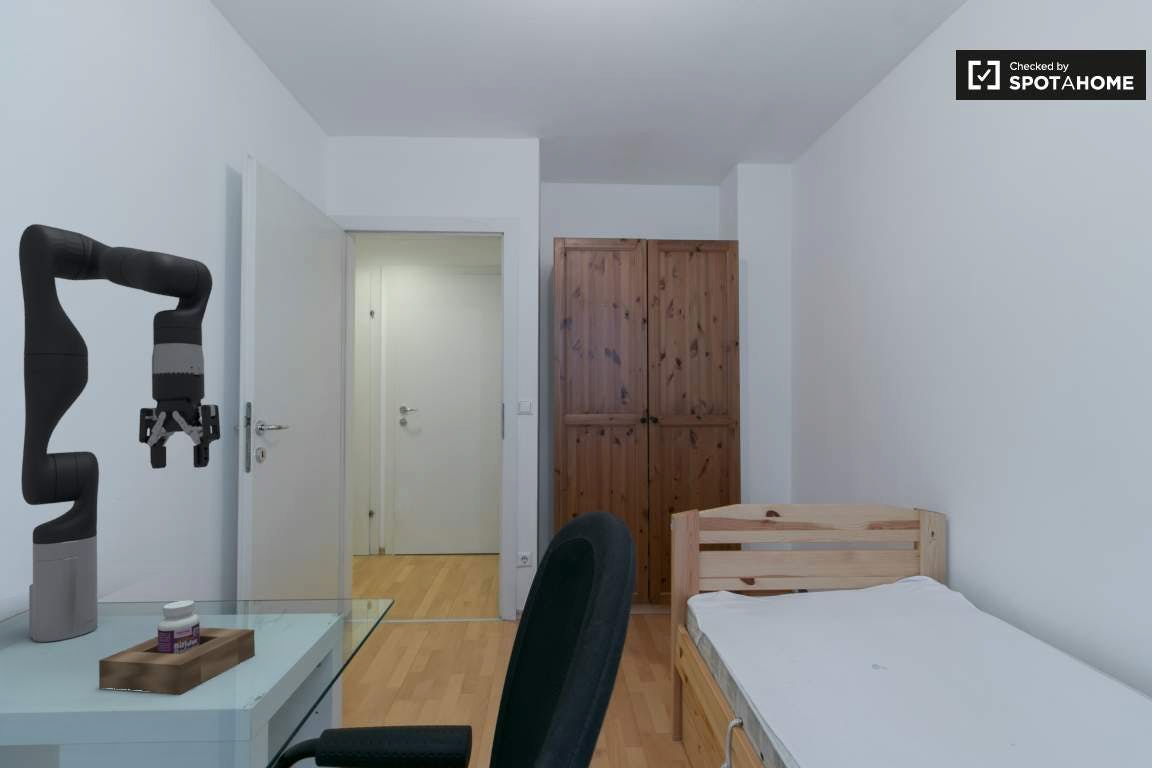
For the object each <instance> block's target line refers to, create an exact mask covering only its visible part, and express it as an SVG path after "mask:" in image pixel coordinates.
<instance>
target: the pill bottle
mask: <svg viewBox="0 0 1152 768" xmlns="http://www.w3.org/2000/svg"><path fill="white" fill-rule="evenodd" d="M194 611H195V601H193V600H189V599H188V600H180V601H174V602H170V603H167V604H165V605H164V606H163V607H162V615H163V617H164V619H162V620H160V621H159V624H158V625H157V637H158V653H168V654H182V653H184V652H186V651H189V650H191V649H193V648H195V647H197V646H200V628H201V626H200V623H201V622H200V621H201V620H200V617H199V615H197V614H196V613H194Z"/></svg>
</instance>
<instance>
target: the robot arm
mask: <svg viewBox="0 0 1152 768" xmlns="http://www.w3.org/2000/svg"><path fill="white" fill-rule="evenodd" d="M18 262H19V271H20V281H21V288H22V298H23V310H24V311H23V312H24V313H23V314H24V342H23V343H24V344H23V345H24V346H23V347H24V348H23V381H24V382H23V384H24V385H23V386H24V403H25V404H24V409H25V410H24V411H25V412H24V415H25V418H24V419H25V420H24V437H23V438H24V439H23V449H22V451H23V453H22V461H21V480H20V481H21V493H22V497H23V500H24V501H25V502H26V504H28V505H30V506H38V505H39V506H41V505H48V504H49V505H51V504H58V503H61V504H62V503H70V502H73V505H72V507H71V508H70V509H69V510H68V511H67V510H66V512H64V513H63V514H62V515H60V516H58V517H56V518H52V519H51V520H49V521H46V522H44V523H40V524H39V525H36V526H35V527H34V528H33V529H32V530H33V531H32V583H31V584H30V585H29V587H28V588H29V589H28V595H29V596H28V599H29V600H28V603H29V604H28V607H29V608H28V610H29V611H28V614H29V615H28V618H29V619H28V620H29V625H28V627H29V628H28V630H29V632H28V633H29V634H28V635H29V636H28V637H29V638H30V639H32V640H33V641H34V642H39V643H40V642H41V643H43V642H56V641H61V640H67V639H71V638H75V637H79V636H81V635H82V636H83V635H85V634H88V633H91V632H93V631H95V630H96V629H97V628H98V497H99V480H100V476H99V475H100V468H99V461H98V459H97V456H96V455H95V454H94V453H93V452H92V451H87V450H86V451H84V450H83V451H69V452H68V451H66V452H53V453H52V452H49V453H48V447H49V443H50V439H51V437H52V434H53V432H54V430H55V429H56V427H57V426H58V424H59V422H60V421H61V419H62V418H63V417H64V415H65V414H66V413H67V412H68V410H69V409H70V408H71V407H72V405H73V404H74V403H75V402H76V401H77V399H79V397H80V396H81V394H82V393H83V391H84V390H85V388H86V387H87V385H88V382H89V381H88V380H89V350H88V346H87V343H86V341H85V339H84V338H83V336H82V334H81V333H80V332H79V330H78V329H77V327H76V326H75V324H74V323H73V321H72V320H71V318H69V316H68V315H67V313H66V312H65V309H64V308H63V306H62V304H61V302H60V300H59V297H58V291H57V285H56V279H63V280H67V281H68V280H69V281H88V280H89V281H91V280H94V281H96V280H105V281H109V282H110V283H112V284H115V285H117V286H122V287H126V288H130V289H135V290H141V291H144V292H147V293H151V294H155V295H159V296H163V297H164V296H165V297H171V298H172V297H173V298H177V299H178V303H177V305H176V307H175V309H164V310H160V311H157V312H156V313H155V314H154V316H153V322H152V323H153V324H152V325H153V326H152V329H153V335H152V336H153V337H152V338H153V339H152V340H153V343H152V344H153V346H152V347H153V350H152V355H151V390H152V392H151V395H152V396H151V397H152V399H153V400H154V401H156V406H155V407H141V408H140V411H139V425H138V426H139V431H138V432H139V433H138V441H139V443H141V444H145V445H146V444H147V445H148V447H149V452H150V460H149V461H150V466H151V469H164V468H166V466H167V446H165V445H166V443H167V442H168V440H169V438H170V437H171V436H173V435H174V434H175V432H176V433H177V432H183V433H184V434H185V435H187V436H188V437H189V438H191V440H192V441H193V444H195V445H193V449H192V450H193V467H194V468H198V469H200V468H206V467H207V466H208V464H209V462H210V445H211V443H212V442H214V441H219V440H220V439H221V426H220V424H221V423H220V411H219V409H220V408H219V405H218V404H202V400H203V399H205V395H206V394H205V393H206V391H205V357H204V352H203V329H202V328H203V327H202V326H203V325H202V324H203V320H204V318H205V317H204V316H205V315H206V310H207V306H208V303H209V299H210V295H211V293H212V289H213V276H212V273H211V271H210V270H209V268H208V266H207V265H206V264H205V263H203V262H202V261H199V260H196V259H192V258H187V257H183V256H178V255H174V254H169V253H165V252H160V251H159V252H158V251H153V250H151V251H150V250H144V249H140V248H134V247H127V246H110V245H106V244H105V243H103V242H100V241H98V240H97V239H94V238H92V237H89V236H87V235H85V234H83V233H79V232H76V231H72V230H68V229H62V228H58V227H53V226H49V225H44V224H41V223H40V224H39V223H35V224H30V225H28V226H27V227H26V228H25V229H24V230H23V232H22V234H21V236H20V239H19V246H18ZM148 429H149V430H148ZM148 431H149V435H148Z"/></svg>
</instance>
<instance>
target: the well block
mask: <svg viewBox="0 0 1152 768" xmlns="http://www.w3.org/2000/svg"><path fill="white" fill-rule="evenodd" d="M255 641H256V640H255V629H247V628H246V629H243V628H223V627H222V628H221V627H200V646H197V647H195V648H193V649H191V650H189V651H186V652H184V653H182V654H168V653H158V636H156V637H153V638H151V639H149V640H146V641H144V642H141V643H139V644H135V645H133V646H131V647H129V648H126V649H124V650H121V651H119V652H117V653H114V654H111V655H109V656H106V657H104V658H101V659H100V660H98V670H99V671H98V673H99V675H98V678H99V679H98V682H99V684H98V685H99V687H98V688H113V689H114V688H115V689H127V690H128V689H130V690H142V691H150V692H159V693H158V694H164V693H167V694H166V695H182V694H184V693H186V692H188V691H191V690H192V689H194V688H196V687H197V686H200V685H202V684H203V683H205V682H207V681H209V680H211V679H213V678H215V677H217V676H218V675H220V674H222V673H224V672H225V671H226V672H227V671H228V670H230V669H232V668H234V667H235V666H237V665H239V664H241V663H243V662H245V661H247V660H249V659H250V658H253V657H254V656H255V654H256V653H255V652H256V651H255V650H256V649H255V648H256V647H255V646H256V645H255V644H256V643H255ZM150 692H149V693H150Z"/></svg>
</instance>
